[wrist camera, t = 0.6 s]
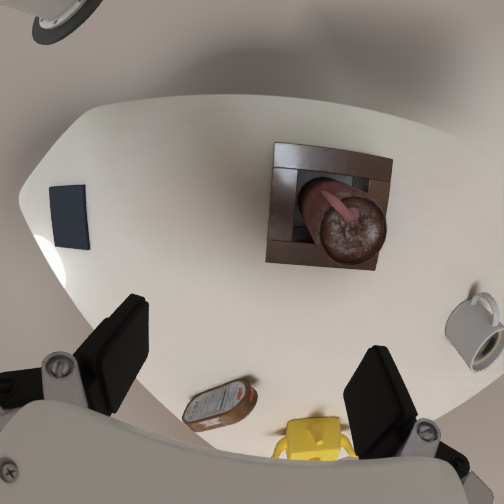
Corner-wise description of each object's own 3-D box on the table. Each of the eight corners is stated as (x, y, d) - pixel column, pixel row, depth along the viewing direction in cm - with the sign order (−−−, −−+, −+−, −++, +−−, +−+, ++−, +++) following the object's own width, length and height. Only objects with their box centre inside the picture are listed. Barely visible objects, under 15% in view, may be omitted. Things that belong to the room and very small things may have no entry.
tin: (196, 404, 46) (187, 437, 38) (185, 395, 46) (174, 428, 38) (260, 381, 43) (257, 419, 35) (249, 370, 42) (244, 409, 34)
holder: (274, 145, 30) (274, 141, 25) (373, 158, 30) (393, 159, 24) (266, 244, 34) (265, 262, 29) (360, 252, 34) (375, 270, 28)
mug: (458, 345, 38) (481, 377, 29) (435, 329, 37) (461, 365, 28) (491, 301, 35) (520, 328, 25) (472, 279, 34) (506, 308, 24)
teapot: (357, 424, 46) (364, 459, 37) (308, 449, 51) (310, 481, 41) (314, 401, 44) (319, 443, 35) (263, 430, 48) (261, 467, 39)
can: (319, 164, 30) (352, 170, 17) (355, 200, 32) (405, 231, 18) (285, 201, 32) (294, 231, 19) (322, 235, 33) (351, 285, 20)
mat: (51, 186, 34) (48, 187, 33) (85, 184, 33) (82, 185, 33) (57, 245, 37) (54, 246, 36) (90, 249, 37) (88, 250, 36)
